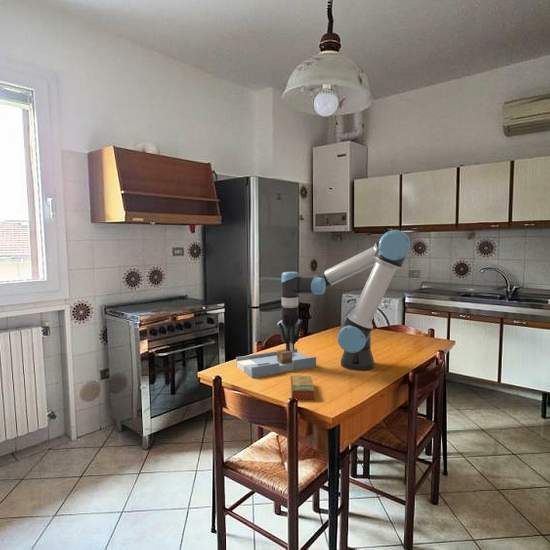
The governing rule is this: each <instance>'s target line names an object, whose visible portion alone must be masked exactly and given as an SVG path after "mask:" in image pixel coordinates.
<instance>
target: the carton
mask: <svg viewBox="0 0 550 550" xmlns="http://www.w3.org/2000/svg"><path fill="white" fill-rule="evenodd" d="M290 393H291V394H290V395H291V399H292V398H296V399H297V400H296V401H315V389H314V384H313V380H312V376H311V375H290Z"/></svg>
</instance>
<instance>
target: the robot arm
mask: <svg viewBox="0 0 550 550" xmlns="http://www.w3.org/2000/svg"><path fill="white" fill-rule="evenodd" d="M411 247H412V240H411V238H410V236H409V235H408V234H407V233H405V231H402V230H399V229H393V230H392V229H391V230H387V232H385V233H384V234H383V235H382V236H381V237H380V239H379V241H377V242H375V243H374V245H373V246H371V247H369V248H368V249H366V250H364V251H361V252H360V253H358V254H356V255H354V256H352V257H350V258H348V259H346V260H344V261H342V262H340V263H338V264H336V265H333V266H331V267H330V268H328V269H326V270H323V271H321V272H319V273H317V274H316V275H312V276H300V275H299V272H298V271H285V272H284V271H283V272H282V273H281V281H280V282H281V283H280V284H281V285H280V287H281V319H280V320H279V322H276V325H277V327H278V331H279V334H280V338H281V342H282V343H283V344H285V349H286V350H287V351H292V358H293V350H294V349H295V345H296V343H297V342H299V338H300V334H301V329H302V326H303V323H304V320H302V319H300V318H299V307H298V306H299V294H300V295H301V294H302V295H304V294H306V295H316V296H317V295H324V294H325V292H326V289H327V288H329V287H331V286H334V285H335V284H338V283H339V282H342V281H344V280H346V279H348V278H350V277H352V276H354V275H356V274H358V273H361V272H363V271H365V270H367V269H369V268H371V267H372V268H371V271H370V274H369V276H368V277H367V281H366V282H365V285H364V287H363V289H362V292H361V293H360V296H359V298H358V300H357V302H356V305H355V307H354V309H353V312H352V313H350V314H347V315H346V316H345V318H344V323H343V325H342V327H341V328H340V330H338V332H337V336H336V337H337V338H336V339H337V343H338V345H339V347H340V348H341V350H343V352H342V356H341V358H340V366H341V367H343V368H345V369H348V370H354V371H368V370H372V369H373V368H375V360H374V356H373V353H372V351H371V345H372V344H371V343H372V342H371V341H372V340H371V339H372V338H371V337H372V331H373V328H374V325H373V322H372V321H373V319H374V318H375V316H376V313H377V311H378V308H379V307H380V304H381V303H382V301H383V298H384V296H385V294H386V291H387V289H388V287H389V285H390V283H391V281H392V278H393V277H394V275H395V272H396V270H399V269H401V268H402V266H403V264H404V262H405V260H406V257H407V255H408V253H409V252H410V250H411Z"/></svg>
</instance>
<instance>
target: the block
mask: <svg viewBox="0 0 550 550" xmlns="http://www.w3.org/2000/svg"><path fill="white" fill-rule="evenodd" d="M276 351H277V362H279V363H281V364H287V363H292V351H287V350H286V348H285V349H279V350H276Z"/></svg>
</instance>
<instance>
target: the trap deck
mask: <svg viewBox="0 0 550 550" xmlns="http://www.w3.org/2000/svg"><path fill="white" fill-rule="evenodd" d="M235 363H236V365H235V366H236V368H237V369H238V370H240V371H242V372H243V373H244V374H246V375H247V376H248V377H250V378H251V379H255V378H261V377H266V376H273V375H277V374H278V373H279V372H281V373H286V372H291V370H292V371H295V370H296V371H300V369H301V370H306V369H305V368H307V369H312V368H311V367H313V368H317V356H311V357H309V356H307V355H305V354H303V353H301V352H299V351H298V348H297V347H296V348H295V347H294V350H293V358H292V363H287V364H281V363H279V362H277V350H276V351H269V352H263V353H257V354H249V355H244V356H243V355H242V356H236V357H235ZM285 371H286V372H285ZM279 374H280V373H279Z"/></svg>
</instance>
